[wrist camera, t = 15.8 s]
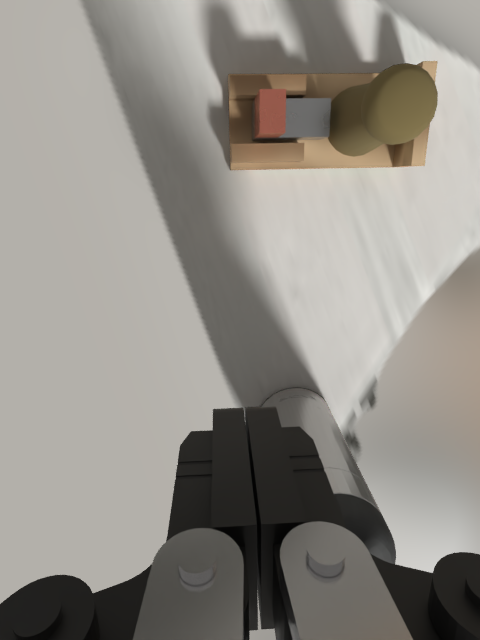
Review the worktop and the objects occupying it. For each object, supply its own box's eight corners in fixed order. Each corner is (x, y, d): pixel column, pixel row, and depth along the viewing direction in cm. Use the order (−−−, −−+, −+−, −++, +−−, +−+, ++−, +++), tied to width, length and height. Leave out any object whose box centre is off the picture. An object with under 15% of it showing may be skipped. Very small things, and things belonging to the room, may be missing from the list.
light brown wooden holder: (399, 167, 41) (424, 165, 36) (230, 170, 40) (232, 169, 35) (409, 76, 38) (437, 61, 33) (228, 77, 37) (230, 62, 33)
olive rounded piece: (311, 128, 38) (347, 110, 28) (354, 70, 37) (409, 28, 26) (358, 170, 40) (409, 167, 29) (401, 115, 38) (470, 92, 28)
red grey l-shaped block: (320, 139, 38) (342, 131, 32) (251, 140, 38) (259, 133, 31) (322, 104, 37) (345, 88, 31) (251, 104, 37) (259, 89, 30)
